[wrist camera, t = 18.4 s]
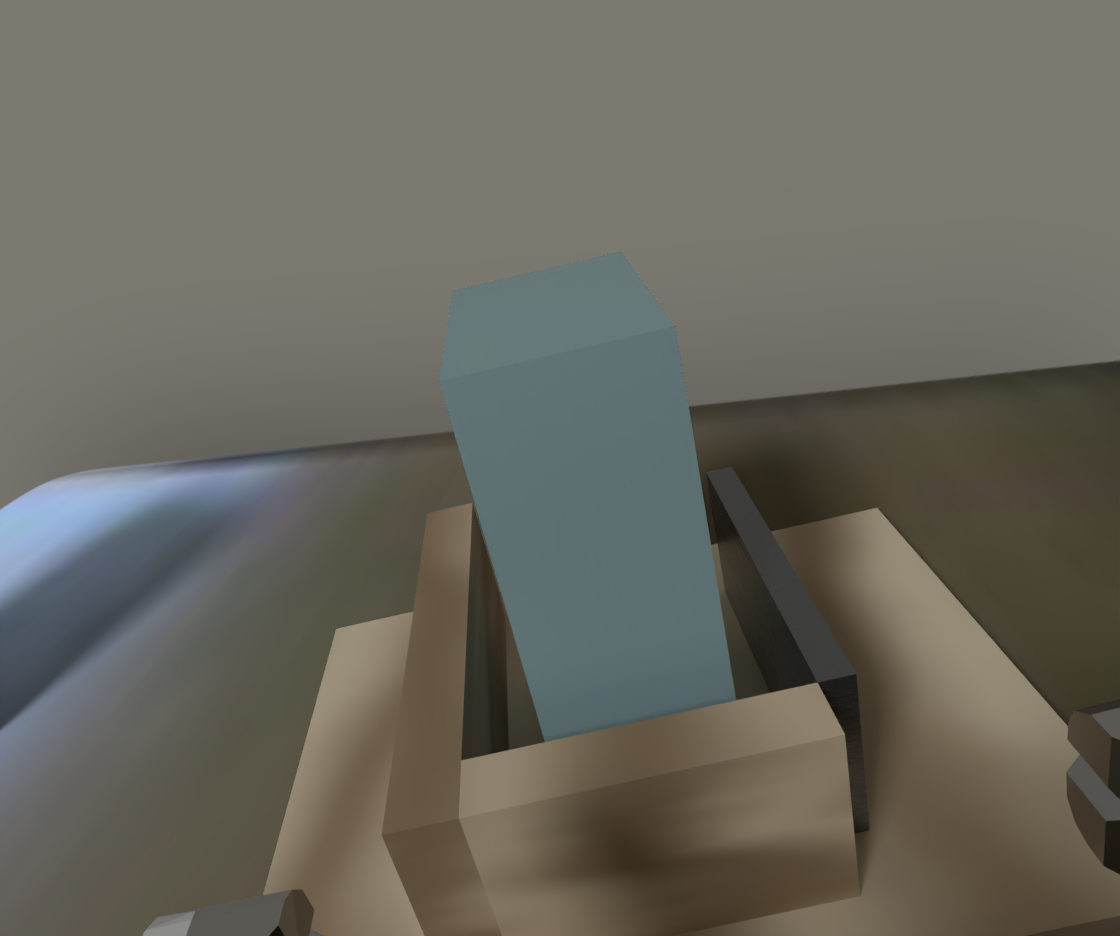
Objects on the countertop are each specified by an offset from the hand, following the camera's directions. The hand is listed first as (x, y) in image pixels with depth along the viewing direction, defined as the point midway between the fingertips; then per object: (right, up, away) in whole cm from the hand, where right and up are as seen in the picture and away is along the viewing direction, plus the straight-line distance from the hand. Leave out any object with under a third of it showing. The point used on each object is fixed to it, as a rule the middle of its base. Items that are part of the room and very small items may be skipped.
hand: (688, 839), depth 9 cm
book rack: (+1, -4, +15) cm, 16 cm away
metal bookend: (+5, -2, +15) cm, 16 cm away
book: (+1, -3, +15) cm, 15 cm away
